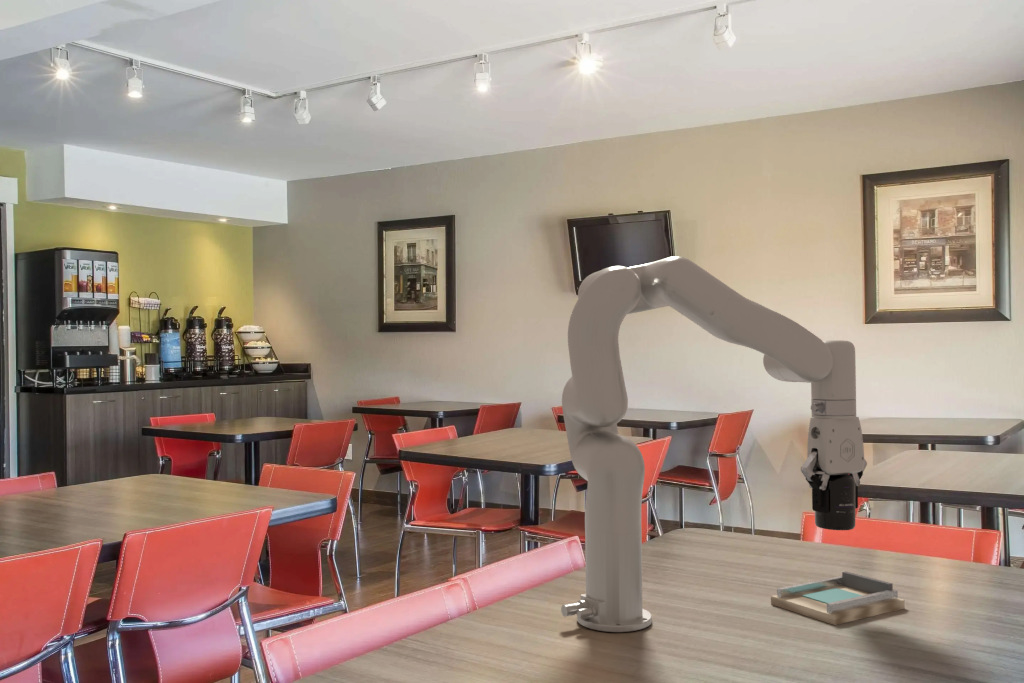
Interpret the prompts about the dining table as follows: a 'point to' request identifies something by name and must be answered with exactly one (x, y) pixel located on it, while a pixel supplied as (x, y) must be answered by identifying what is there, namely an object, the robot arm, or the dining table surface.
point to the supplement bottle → (838, 504)
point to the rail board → (840, 598)
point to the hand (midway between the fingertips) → (835, 508)
